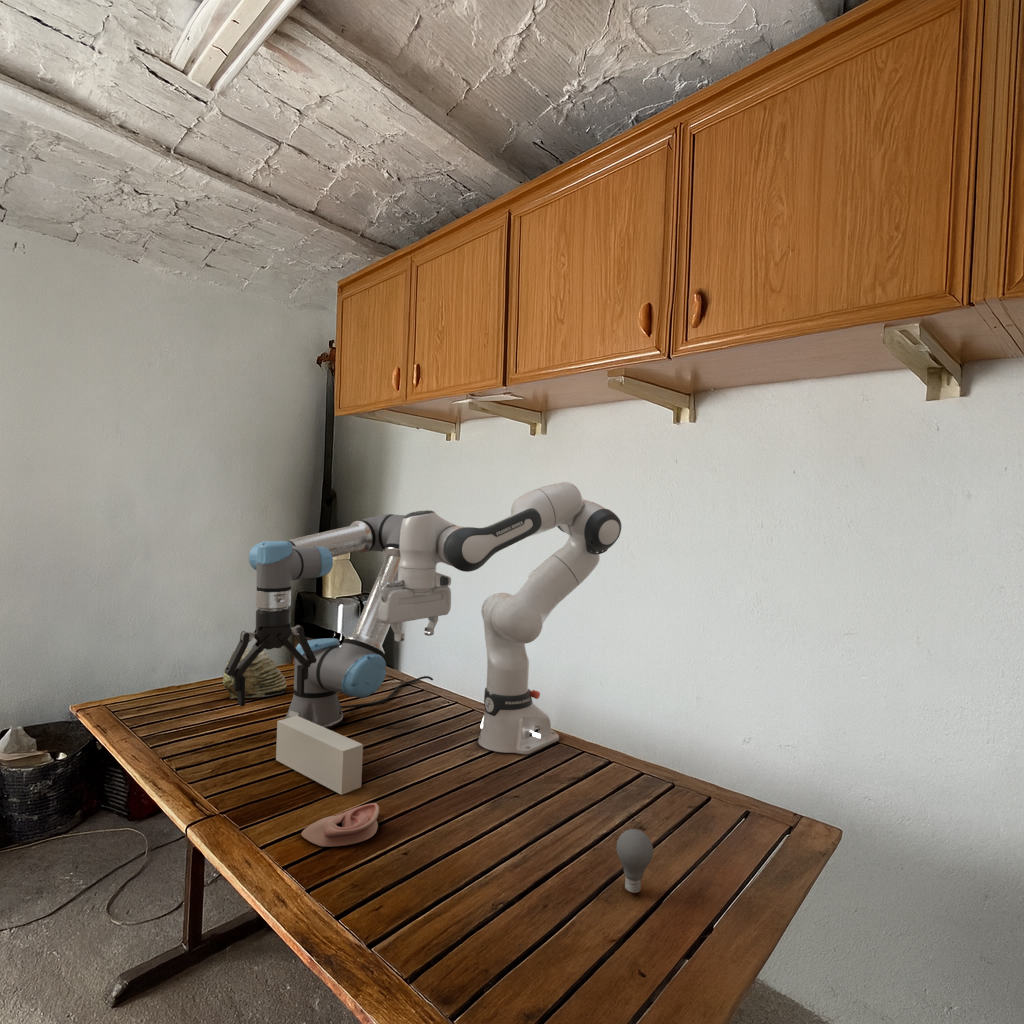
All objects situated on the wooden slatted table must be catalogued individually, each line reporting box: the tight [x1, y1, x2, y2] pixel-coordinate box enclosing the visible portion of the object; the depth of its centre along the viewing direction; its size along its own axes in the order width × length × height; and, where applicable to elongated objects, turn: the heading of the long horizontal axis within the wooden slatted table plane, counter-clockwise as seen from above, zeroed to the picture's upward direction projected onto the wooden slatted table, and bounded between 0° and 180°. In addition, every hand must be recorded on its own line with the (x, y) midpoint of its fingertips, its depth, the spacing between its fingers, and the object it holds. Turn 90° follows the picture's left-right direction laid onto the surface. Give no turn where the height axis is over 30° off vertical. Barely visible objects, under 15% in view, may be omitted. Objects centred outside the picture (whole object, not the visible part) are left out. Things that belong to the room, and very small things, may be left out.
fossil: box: [222, 647, 288, 699], centre depth 198 cm, size 9×18×15 cm, turn 132°
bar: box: [275, 716, 364, 796], centre depth 145 cm, size 26×5×10 cm, turn 51°
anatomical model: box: [300, 802, 380, 848], centre depth 120 cm, size 13×4×12 cm
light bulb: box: [615, 828, 654, 894], centre depth 106 cm, size 6×6×10 cm
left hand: (271, 699), depth 147 cm, fingers open, 13 cm apart
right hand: (414, 638), depth 149 cm, fingers open, 8 cm apart
